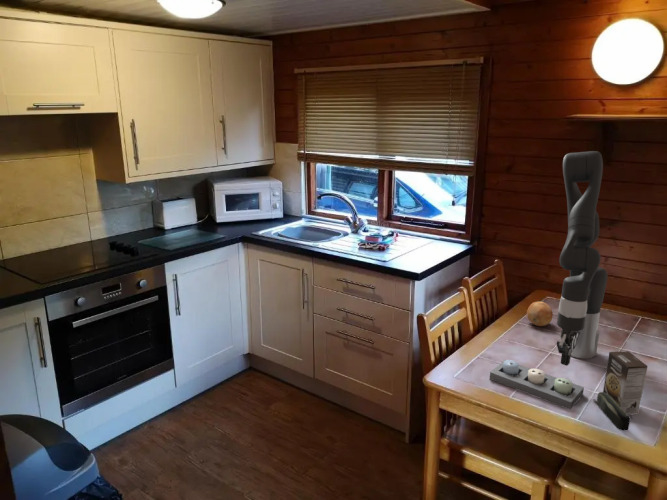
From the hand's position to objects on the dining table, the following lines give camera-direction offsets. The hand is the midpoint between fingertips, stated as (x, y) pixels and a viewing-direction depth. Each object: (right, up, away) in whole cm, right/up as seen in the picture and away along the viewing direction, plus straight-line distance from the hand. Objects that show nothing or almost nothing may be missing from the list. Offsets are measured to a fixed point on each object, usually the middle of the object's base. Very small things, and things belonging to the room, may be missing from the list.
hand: (564, 364), depth 160 cm
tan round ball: (+13, +4, +53) cm, 54 cm away
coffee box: (+16, -12, -2) cm, 20 cm away
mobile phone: (+10, -14, -6) cm, 19 cm away
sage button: (0, -9, +3) cm, 9 cm away
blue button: (-12, -6, +14) cm, 19 cm away
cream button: (-6, -7, +8) cm, 12 cm away
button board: (-6, -9, +9) cm, 14 cm away
